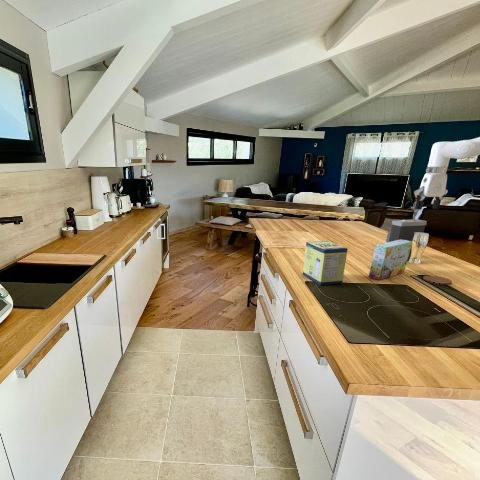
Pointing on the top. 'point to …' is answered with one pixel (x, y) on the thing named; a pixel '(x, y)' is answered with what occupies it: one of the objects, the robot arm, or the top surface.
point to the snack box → (390, 259)
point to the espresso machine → (405, 229)
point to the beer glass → (417, 247)
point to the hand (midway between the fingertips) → (426, 209)
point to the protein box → (324, 262)
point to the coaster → (437, 280)
